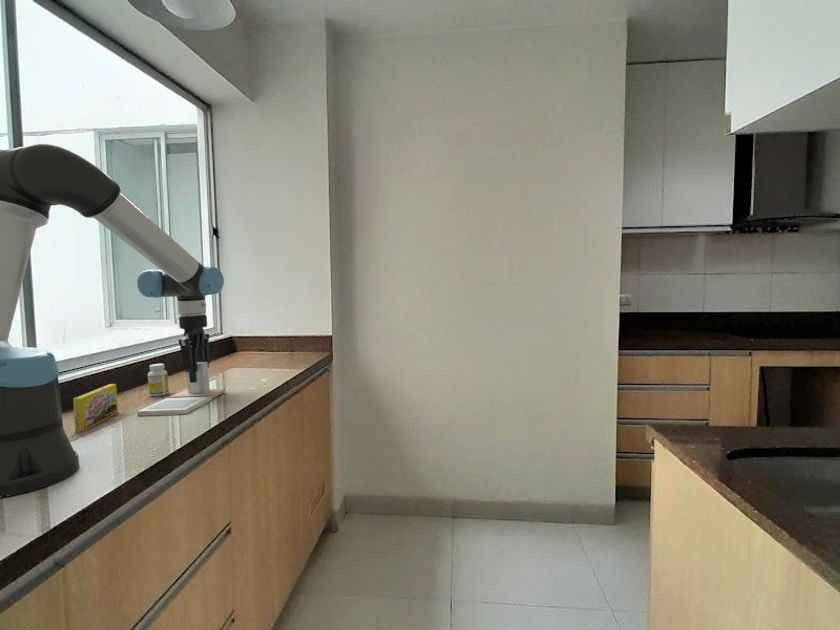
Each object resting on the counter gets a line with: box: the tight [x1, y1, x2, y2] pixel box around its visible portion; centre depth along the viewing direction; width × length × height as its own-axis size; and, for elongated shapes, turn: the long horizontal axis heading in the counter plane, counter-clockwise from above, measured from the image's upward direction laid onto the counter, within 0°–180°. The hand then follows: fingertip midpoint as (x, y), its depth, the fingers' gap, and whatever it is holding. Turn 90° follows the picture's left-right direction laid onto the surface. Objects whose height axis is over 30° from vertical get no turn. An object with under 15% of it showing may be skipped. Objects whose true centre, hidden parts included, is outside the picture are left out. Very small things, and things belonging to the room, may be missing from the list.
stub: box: [169, 362, 226, 399], centre depth 136 cm, size 8×13×10 cm, turn 88°
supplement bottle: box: [147, 363, 170, 397], centre depth 141 cm, size 5×5×10 cm
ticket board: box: [136, 396, 213, 417], centre depth 125 cm, size 14×13×1 cm
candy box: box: [72, 383, 119, 433], centre depth 114 cm, size 16×2×8 cm, turn 8°
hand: (199, 390), depth 137 cm, fingers closed on stub, 3 cm apart
